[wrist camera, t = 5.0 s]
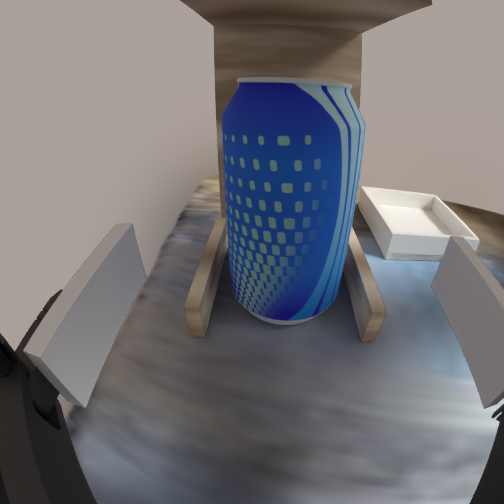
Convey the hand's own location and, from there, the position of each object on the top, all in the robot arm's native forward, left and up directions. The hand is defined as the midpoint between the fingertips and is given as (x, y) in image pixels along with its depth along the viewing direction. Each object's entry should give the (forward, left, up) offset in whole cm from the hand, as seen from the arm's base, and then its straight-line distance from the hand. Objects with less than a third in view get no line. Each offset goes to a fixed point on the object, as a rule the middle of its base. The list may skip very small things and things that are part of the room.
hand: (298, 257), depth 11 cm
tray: (-5, -25, -9) cm, 27 cm away
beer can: (+4, -7, -10) cm, 13 cm away
